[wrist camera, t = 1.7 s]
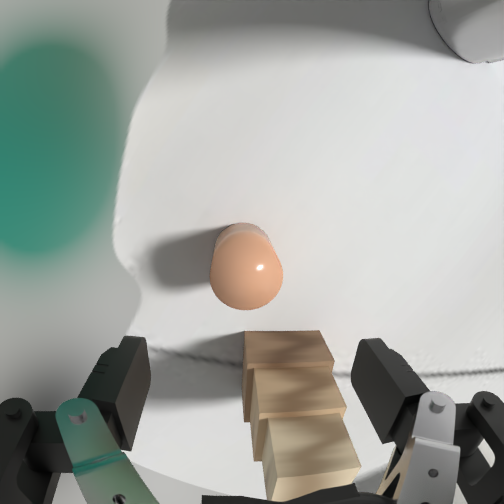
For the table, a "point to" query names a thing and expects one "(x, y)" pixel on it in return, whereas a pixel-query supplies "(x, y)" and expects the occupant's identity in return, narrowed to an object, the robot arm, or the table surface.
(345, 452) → the tower top
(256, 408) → the tower mid
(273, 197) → the table surface
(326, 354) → the tower base
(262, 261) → the cylinder
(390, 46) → the table surface
